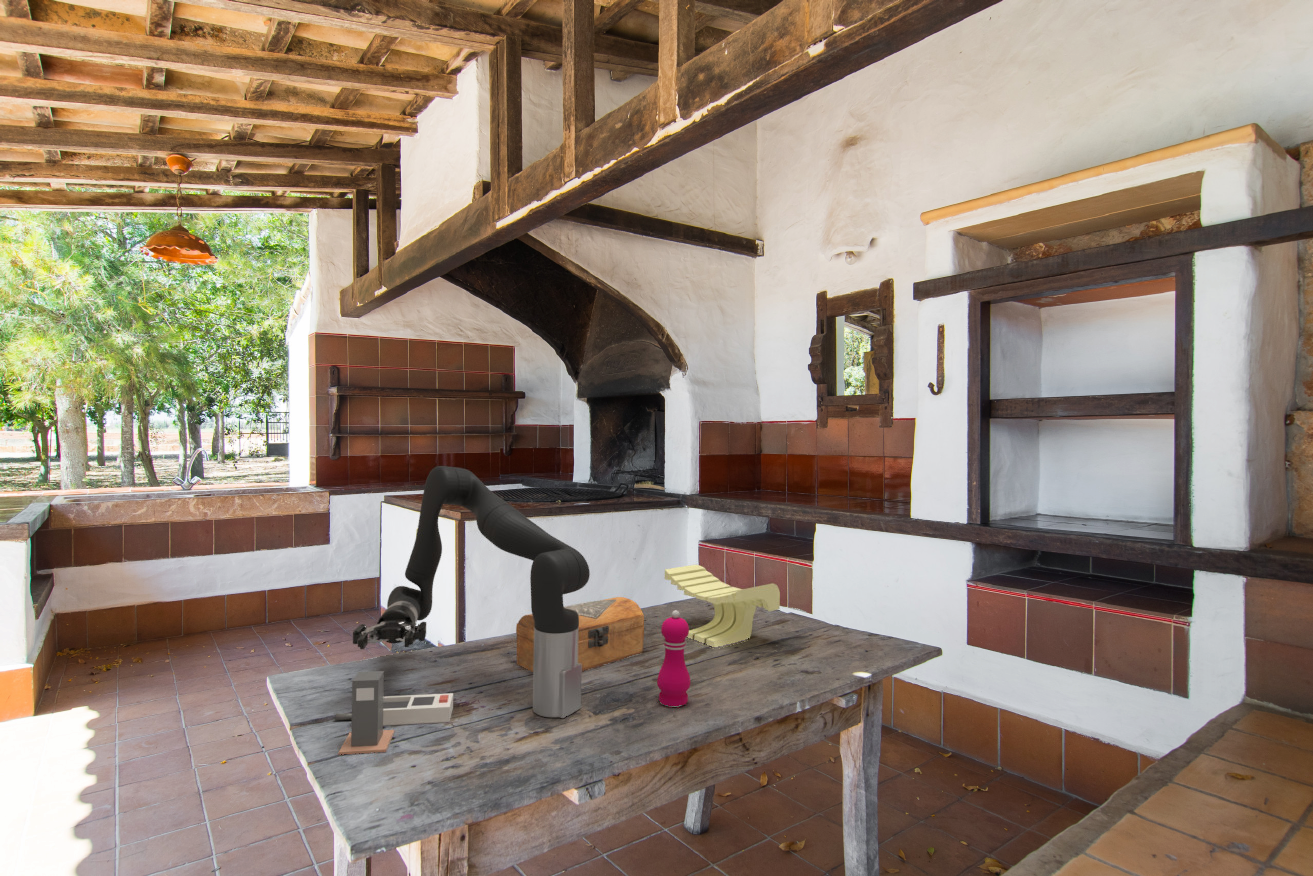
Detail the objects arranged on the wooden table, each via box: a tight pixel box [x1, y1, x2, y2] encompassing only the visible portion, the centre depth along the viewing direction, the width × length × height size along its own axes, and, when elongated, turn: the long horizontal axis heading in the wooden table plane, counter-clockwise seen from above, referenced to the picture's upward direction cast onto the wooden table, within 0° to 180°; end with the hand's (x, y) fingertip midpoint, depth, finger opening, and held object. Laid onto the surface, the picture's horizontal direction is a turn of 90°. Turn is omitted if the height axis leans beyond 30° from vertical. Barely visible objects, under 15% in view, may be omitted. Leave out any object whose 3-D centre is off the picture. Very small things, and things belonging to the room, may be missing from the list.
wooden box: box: [515, 596, 645, 673], centre depth 174 cm, size 30×16×14 cm, turn 133°
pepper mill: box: [656, 609, 691, 706], centre depth 149 cm, size 7×7×20 cm
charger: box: [350, 670, 385, 747], centre depth 126 cm, size 4×5×12 cm
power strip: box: [334, 692, 454, 727], centre depth 138 cm, size 22×7×4 cm, turn 101°
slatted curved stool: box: [664, 564, 781, 647], centre depth 195 cm, size 30×16×18 cm, turn 41°
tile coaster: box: [338, 729, 395, 756], centre depth 127 cm, size 8×8×1 cm
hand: (384, 643), depth 139 cm, fingers open, 8 cm apart
